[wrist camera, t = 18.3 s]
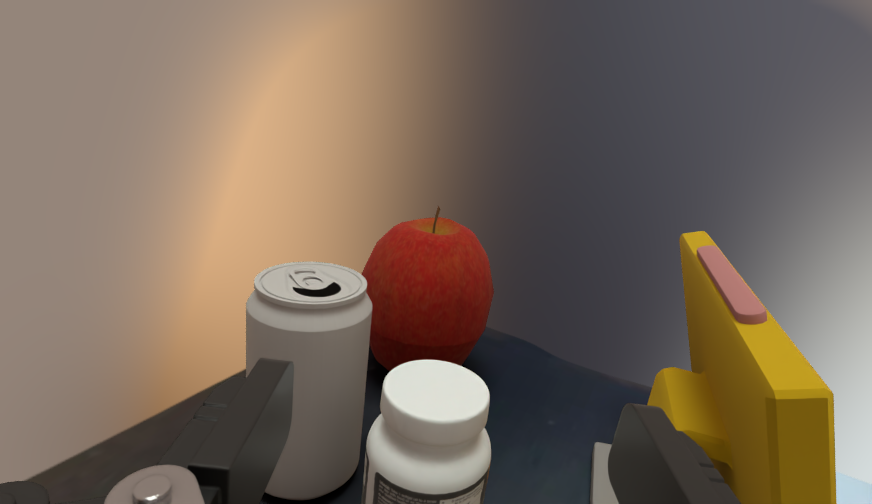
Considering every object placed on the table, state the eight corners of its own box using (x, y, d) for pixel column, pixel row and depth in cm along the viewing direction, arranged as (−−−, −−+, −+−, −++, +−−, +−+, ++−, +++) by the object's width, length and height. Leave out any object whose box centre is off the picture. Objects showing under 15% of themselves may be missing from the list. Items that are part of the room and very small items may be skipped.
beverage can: (265, 529, 25) (269, 314, 21) (233, 449, 30) (231, 263, 26) (377, 484, 29) (397, 294, 25) (332, 419, 34) (343, 252, 30)
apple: (393, 329, 47) (408, 184, 43) (493, 362, 43) (522, 208, 39) (327, 380, 38) (338, 203, 33) (448, 428, 34) (478, 236, 30)
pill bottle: (494, 571, 24) (531, 400, 21) (401, 645, 21) (429, 451, 18) (422, 495, 28) (444, 341, 25) (333, 546, 25) (345, 373, 22)
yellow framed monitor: (806, 797, 18) (1026, 429, 13) (580, 698, 20) (693, 348, 15) (705, 446, 36) (779, 239, 31) (593, 414, 38) (646, 214, 33)
